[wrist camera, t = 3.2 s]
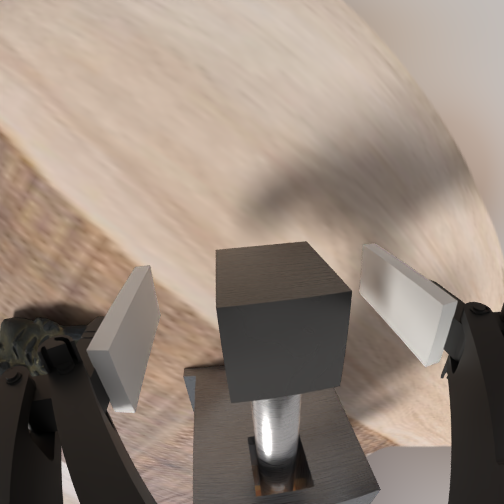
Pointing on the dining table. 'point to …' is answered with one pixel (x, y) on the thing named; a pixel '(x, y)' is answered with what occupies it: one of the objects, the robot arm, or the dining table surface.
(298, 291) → the shaft
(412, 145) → the dining table surface
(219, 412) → the bearing block
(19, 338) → the stone
